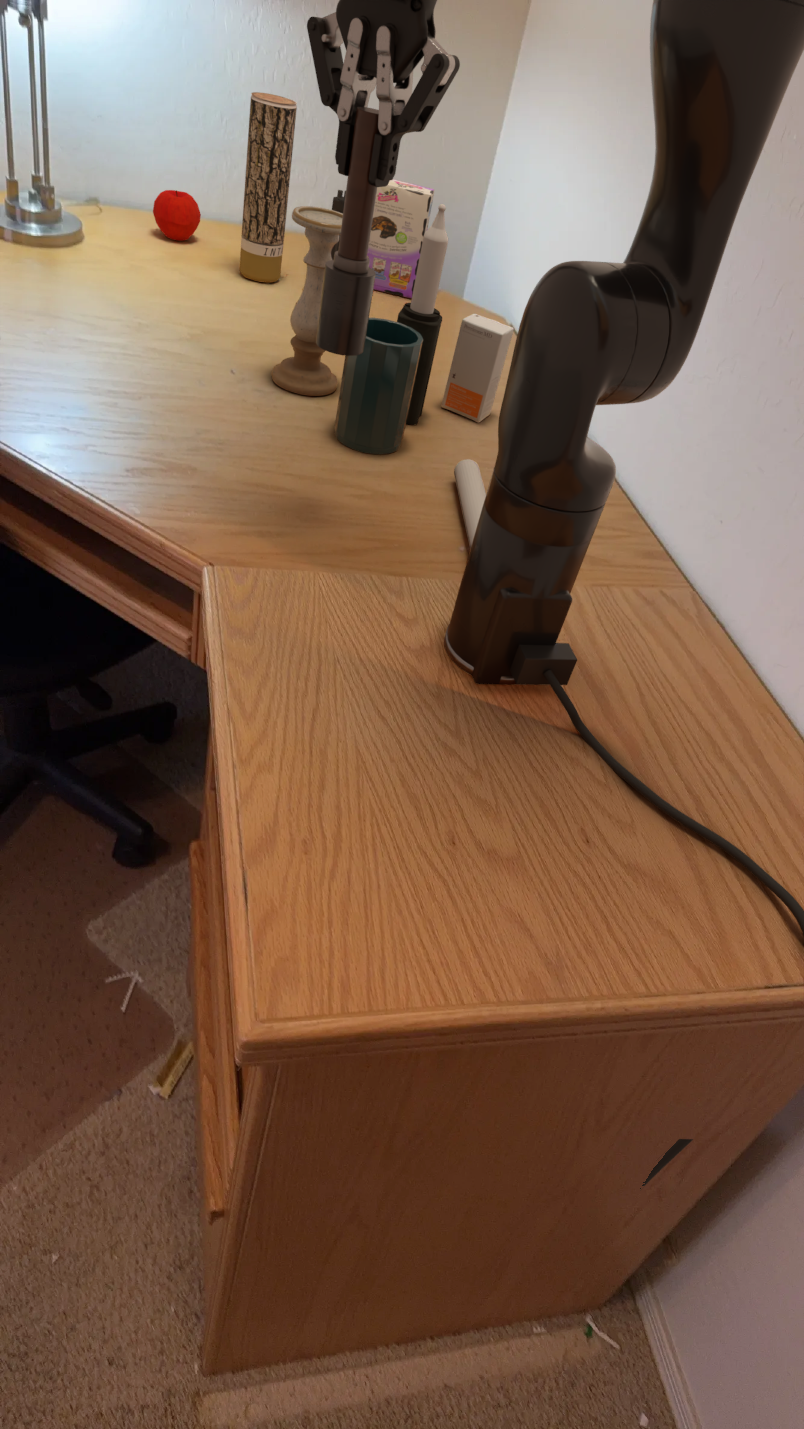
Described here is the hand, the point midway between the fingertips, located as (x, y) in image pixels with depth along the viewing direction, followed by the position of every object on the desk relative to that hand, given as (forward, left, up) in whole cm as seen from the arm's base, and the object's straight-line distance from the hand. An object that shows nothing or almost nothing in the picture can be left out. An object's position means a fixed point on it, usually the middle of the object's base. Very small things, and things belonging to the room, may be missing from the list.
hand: (363, 178), depth 75 cm
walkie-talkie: (+88, -17, -31) cm, 95 cm away
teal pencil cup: (+16, -9, -31) cm, 36 cm away
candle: (+24, -15, -31) cm, 42 cm away
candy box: (+77, -22, -31) cm, 86 cm away
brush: (0, 0, -14) cm, 14 cm away
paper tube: (+73, -1, -31) cm, 80 cm away
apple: (+88, +12, -31) cm, 94 cm away
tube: (-6, -17, -31) cm, 36 cm away
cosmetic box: (+27, -25, -31) cm, 48 cm away
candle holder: (+31, -3, -31) cm, 44 cm away
